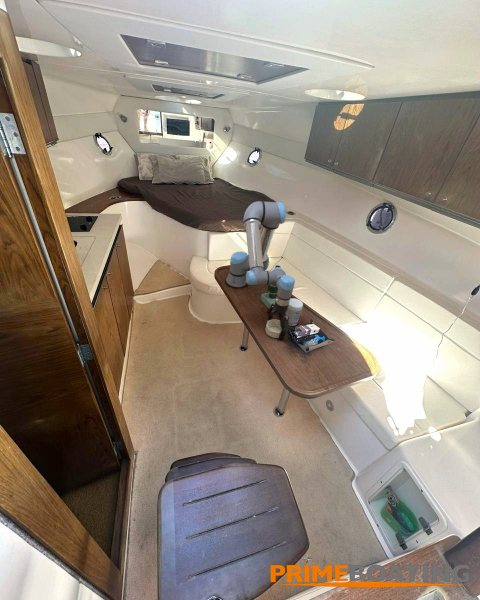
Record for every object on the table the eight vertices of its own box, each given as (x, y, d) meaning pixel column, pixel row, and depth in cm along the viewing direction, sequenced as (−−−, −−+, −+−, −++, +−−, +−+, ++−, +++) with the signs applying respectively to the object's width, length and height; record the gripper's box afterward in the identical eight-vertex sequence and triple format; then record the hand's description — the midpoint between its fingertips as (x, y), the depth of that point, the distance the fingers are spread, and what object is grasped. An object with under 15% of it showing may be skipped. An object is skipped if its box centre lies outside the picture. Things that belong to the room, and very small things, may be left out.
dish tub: (260, 299, 172) (261, 294, 169) (278, 295, 178) (279, 290, 175) (272, 312, 161) (273, 307, 159) (291, 307, 168) (292, 302, 165)
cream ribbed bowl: (261, 328, 149) (263, 321, 146) (277, 323, 154) (278, 317, 151) (271, 341, 141) (273, 334, 138) (287, 335, 146) (289, 329, 143)
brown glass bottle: (277, 299, 173) (284, 269, 159) (266, 298, 173) (272, 268, 159) (276, 293, 180) (283, 263, 165) (265, 292, 179) (271, 262, 165)
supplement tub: (294, 328, 151) (300, 310, 143) (280, 322, 155) (285, 304, 146) (299, 320, 158) (305, 301, 150) (285, 314, 162) (290, 296, 153)
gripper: (264, 291, 141) (258, 320, 154) (289, 318, 125) (281, 347, 137) (275, 289, 144) (269, 317, 157) (301, 314, 128) (291, 344, 140)
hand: (274, 331), depth 147 cm, fingers open, 12 cm apart
